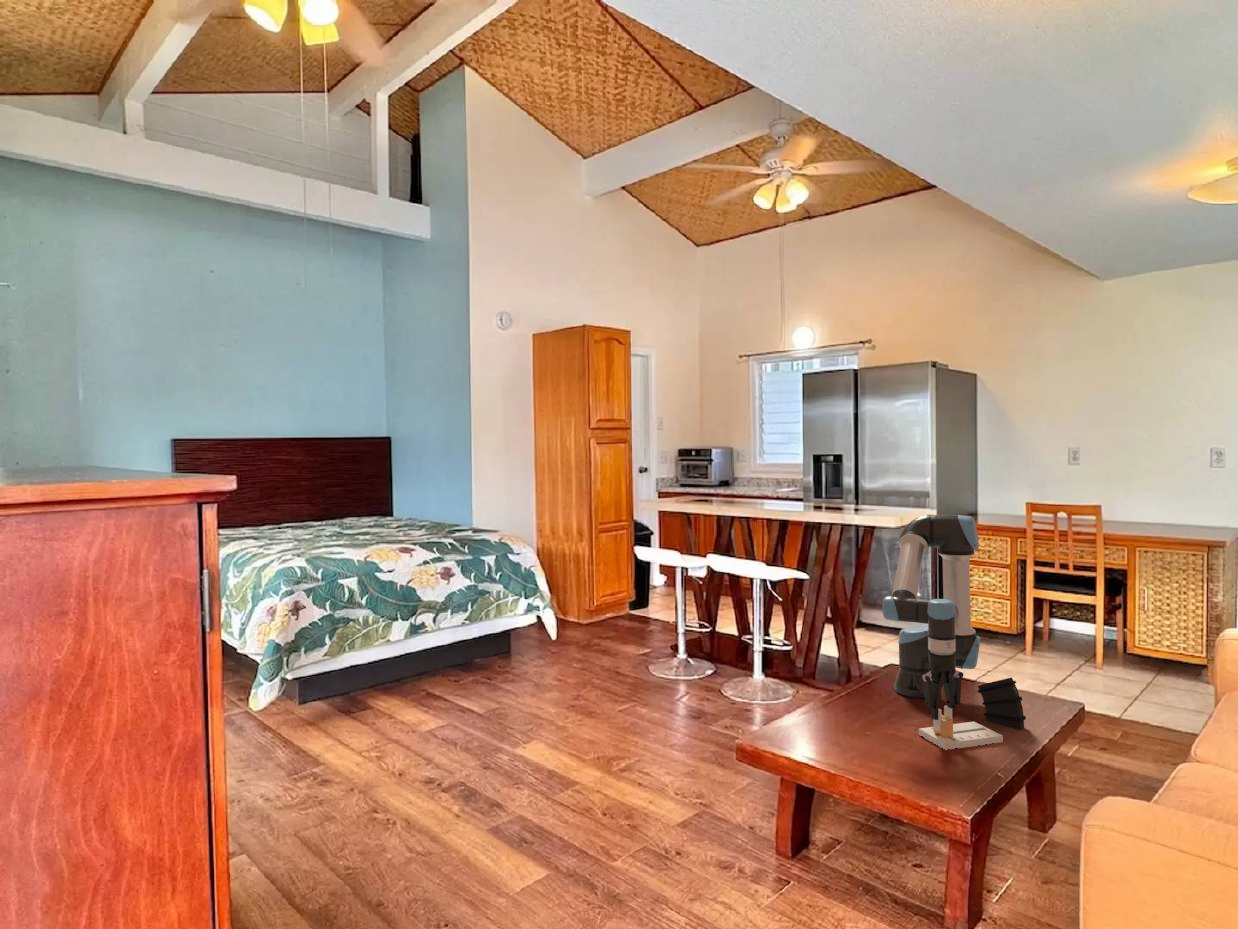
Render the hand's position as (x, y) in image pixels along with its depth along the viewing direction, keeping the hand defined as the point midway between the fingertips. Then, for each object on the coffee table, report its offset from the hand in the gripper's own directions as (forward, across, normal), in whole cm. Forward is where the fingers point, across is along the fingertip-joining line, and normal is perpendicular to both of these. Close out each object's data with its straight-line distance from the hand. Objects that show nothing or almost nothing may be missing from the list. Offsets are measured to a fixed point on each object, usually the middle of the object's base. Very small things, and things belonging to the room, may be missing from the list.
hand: (943, 729), depth 218 cm
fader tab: (+1, 0, 0) cm, 1 cm away
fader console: (+4, +6, 0) cm, 7 cm away
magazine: (+4, +27, +7) cm, 28 cm away
